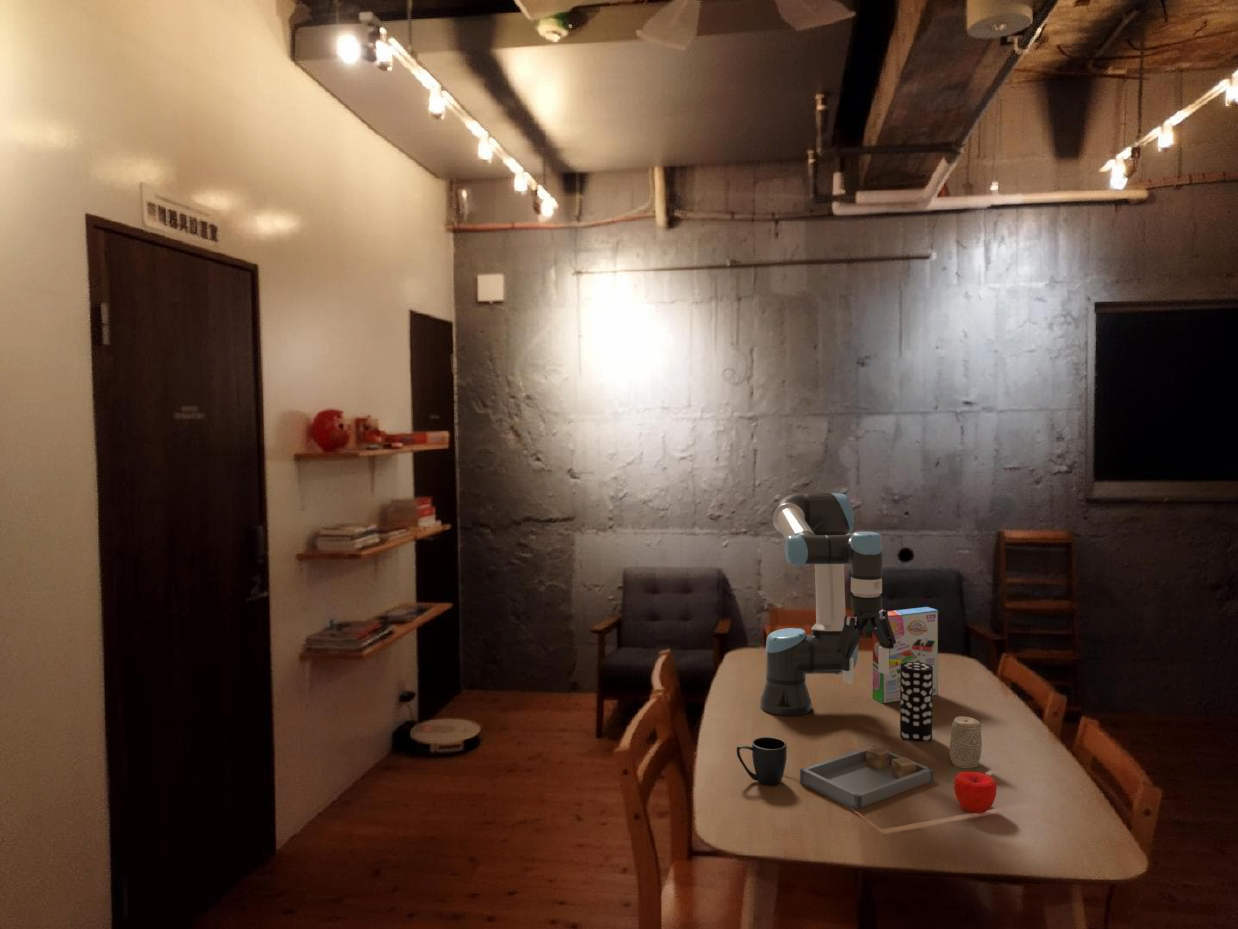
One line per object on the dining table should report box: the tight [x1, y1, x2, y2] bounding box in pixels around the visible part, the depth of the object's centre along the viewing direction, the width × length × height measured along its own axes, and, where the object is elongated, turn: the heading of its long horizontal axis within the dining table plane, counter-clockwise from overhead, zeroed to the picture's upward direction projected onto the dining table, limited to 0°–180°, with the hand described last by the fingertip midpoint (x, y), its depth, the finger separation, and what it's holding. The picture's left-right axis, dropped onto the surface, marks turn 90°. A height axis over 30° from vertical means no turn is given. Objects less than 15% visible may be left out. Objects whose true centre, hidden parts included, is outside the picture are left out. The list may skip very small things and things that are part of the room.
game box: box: [872, 606, 939, 704], centre depth 267 cm, size 21×6×27 cm, turn 108°
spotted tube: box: [899, 662, 934, 743], centre depth 234 cm, size 8×8×20 cm
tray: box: [799, 745, 934, 813], centre depth 207 cm, size 18×26×4 cm
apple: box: [953, 771, 997, 814], centre depth 192 cm, size 9×9×8 cm
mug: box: [736, 736, 788, 787], centre depth 209 cm, size 8×12×10 cm
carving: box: [949, 715, 983, 769], centre depth 216 cm, size 6×8×12 cm
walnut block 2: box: [892, 756, 917, 779], centre depth 208 cm, size 4×4×4 cm
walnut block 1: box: [866, 745, 890, 771], centre depth 215 cm, size 4×4×4 cm
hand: (866, 678), depth 216 cm, fingers open, 13 cm apart
